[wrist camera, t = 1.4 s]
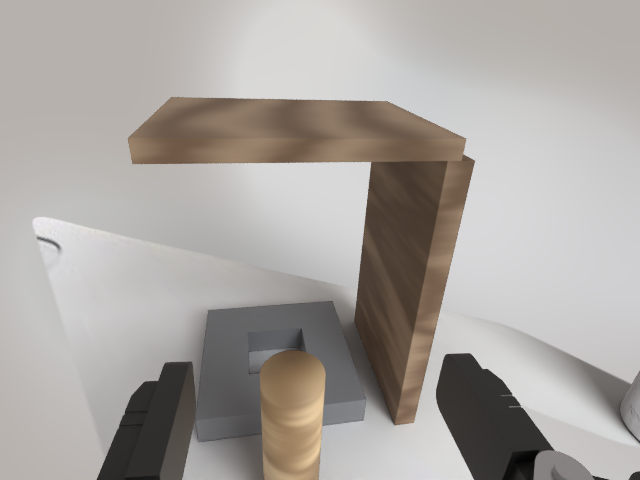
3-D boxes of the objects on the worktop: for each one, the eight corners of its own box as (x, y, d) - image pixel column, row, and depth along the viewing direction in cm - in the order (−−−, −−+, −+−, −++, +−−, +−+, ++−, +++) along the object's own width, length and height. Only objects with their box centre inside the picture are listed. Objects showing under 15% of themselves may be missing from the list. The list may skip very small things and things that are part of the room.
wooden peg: (312, 465, 35) (319, 347, 28) (321, 518, 31) (331, 396, 25) (263, 472, 34) (258, 353, 28) (266, 528, 30) (261, 404, 24)
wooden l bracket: (368, 320, 53) (396, 101, 40) (413, 422, 39) (480, 138, 26) (201, 334, 49) (171, 97, 36) (186, 453, 35) (127, 138, 22)
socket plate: (331, 318, 53) (332, 300, 52) (363, 420, 39) (366, 399, 38) (210, 328, 50) (208, 310, 49) (198, 442, 36) (195, 420, 35)
